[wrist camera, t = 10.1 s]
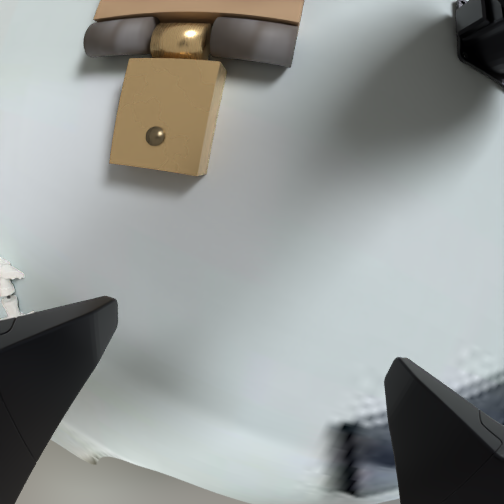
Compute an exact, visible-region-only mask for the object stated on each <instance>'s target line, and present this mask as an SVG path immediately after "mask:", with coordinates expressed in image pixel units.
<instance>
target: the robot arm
mask: <svg viewBox="0 0 504 504" xmlns="http://www.w3.org/2000/svg"><path fill="white" fill-rule="evenodd" d="M456 4H457V10H456V32H457V35H458V57H459V59H460V60H461V61H462V62H464V63H466V64H468V65H469V66H471V67H473V68H474V69H476V70H478V71H480V72H481V73H483V74H484V75H486V76H488V77H489V78H491V79H492V80H494V81H496V82H497V83H499V84H500V85H502V86H503V87H504V0H469V1H468V2H467V1H466V0H457V2H456ZM463 54H464V56H465V57H464V56H463ZM117 325H118V304H117V300H116V299H114V298H111V297H108V296H102V297H98V298H94V299H90V300H86V301H81V302H77V303H73V304H69V305H65V306H60V307H56V308H52V309H48V310H43V311H39V312H35V313H31V314H26V315H22V316H18V317H17V318H16V317H13V318H9V319H5V320H0V504H15V502H16V500H17V498H18V496H19V494H20V492H21V490H22V489H23V487H24V484H25V483H26V481H27V479H28V477H29V475H30V474H31V472H32V470H33V468H34V467H35V465H36V462H37V461H38V459H39V457H40V456H41V454H42V452H43V450H44V449H45V447H46V445H47V443H48V442H49V440H50V438H51V437H52V435H53V433H54V432H55V430H56V428H57V427H58V425H59V423H60V422H61V420H62V419H63V417H64V415H65V414H66V412H67V411H68V409H69V407H70V406H71V404H72V403H73V401H74V399H75V398H76V396H77V395H78V393H79V392H80V390H81V389H82V387H83V385H84V384H85V382H86V381H87V379H88V378H89V376H90V375H91V373H92V372H93V370H94V369H95V367H96V366H97V364H98V362H99V361H100V359H101V357H102V355H103V353H104V351H105V349H106V347H107V345H108V343H109V341H110V339H111V338H112V336H113V334H114V332H115V330H116V328H117ZM384 386H385V395H386V406H387V417H388V424H389V430H390V435H391V441H392V447H393V453H394V459H395V465H396V472H397V479H398V487H399V495H400V503H401V504H504V426H503V425H501V424H500V423H498V422H497V421H495V420H494V419H492V418H491V417H489V416H488V415H487V414H485V413H484V412H482V411H481V410H478V408H477V407H475V406H474V405H473V404H471V403H470V402H468V401H467V400H466V399H464V398H463V397H461V396H460V395H459V394H457V393H456V392H454V391H453V390H452V389H450V388H449V387H447V386H446V385H445V384H443V383H442V382H440V381H439V380H438V379H436V378H435V377H433V376H432V375H431V374H429V373H428V372H426V371H425V370H424V369H422V368H421V367H419V366H418V365H417V364H415V363H414V362H412V361H411V360H410V359H408V358H402V357H397V358H396V359H395V360H394V361H393V363H392V365H391V367H390V369H389V371H388V373H387V375H386V377H385V380H384Z"/></svg>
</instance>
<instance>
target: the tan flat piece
mask: <svg viewBox="0 0 504 504" xmlns="http://www.w3.org/2000/svg"><path fill="white" fill-rule="evenodd" d="M303 5H304V0H100V3H99V6H98V8H97V11H96V14H95V16H94V19H93V20H95V21H97V23H93V24H92V25H90V26H89V28H88V29H87V31H86V33H85V36H84V49H85V52H86V54H87V55H88V56H90V57H102V56H115V55H137V54H151V50H150V43H151V37H152V34H153V31H154V29H155V28H156V26H157V25H158V24H160V23H208V24H211V25H212V26H213V27H212V30H211V36H210V52H211V55H212V56H213V57H222V58H232V59H240V60H248V61H255V62H262V63H268V64H274V65H280V66H285V67H291V64H292V59H293V54H294V49H295V44H296V39H297V34H298V29H299V24H300V19H301V14H302V9H303Z"/></svg>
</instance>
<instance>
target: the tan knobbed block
mask: <svg viewBox="0 0 504 504" xmlns="http://www.w3.org/2000/svg"><path fill="white" fill-rule="evenodd" d="M211 30H212V25H211V24H208V23H160V24H158V25H157V26H156V28H155V29H154V31H153V34H152V37H151V43H150V50H151V55H152V58H129V62H128V66H127V70H126V74H125V78H124V82H123V87H122V91H121V96H120V101H119V106H118V111H117V116H116V122H115V128H114V134H113V140H112V147H111V154H110V162H109V163H111V164H119V165H127V166H134V167H141V168H148V169H155V170H162V171H168V172H174V173H181V174H187V175H193V176H200V175H204V174H207V168H208V163H209V157H210V152H211V146H212V141H213V136H214V131H215V126H216V121H217V116H218V111H219V107H220V102H221V97H222V93H223V88H224V84H225V79H226V75H227V71H226V69H225V68H224V66H223V65H222V63H221V62H219V61H208V59H209V56H210V53H211V52H210V36H211Z"/></svg>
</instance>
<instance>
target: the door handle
mask: <svg viewBox="0 0 504 504" xmlns="http://www.w3.org/2000/svg"><path fill="white" fill-rule="evenodd" d="M22 277H23V278H25V275H24V273H23V272H21V271H19V270H18V269H16V268H15V267H13V266H11V263H10V262H9V261H7V260H5V259H3V258H2V257H0V296H2V297H3V296H7V297H5V298H3V299H2V304H3V307H4V308H5V309H6V312H7V315H8V316H7V317H6V318H0V320H5V319H9V318H13V317H16V318H17V317H18V316H22V315H26V314H24V313H21V312H20V311H19V308H18V305H17V304H18V299H17V296H15V295H11V294H12V293H14V292H15V288H14V285H13V284H12V283H11V280H10V279H12V280H13V279H14V278H19V279H21V278H22ZM31 313H35V312H34V311H32V312H30V313H27V314H31Z"/></svg>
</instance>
